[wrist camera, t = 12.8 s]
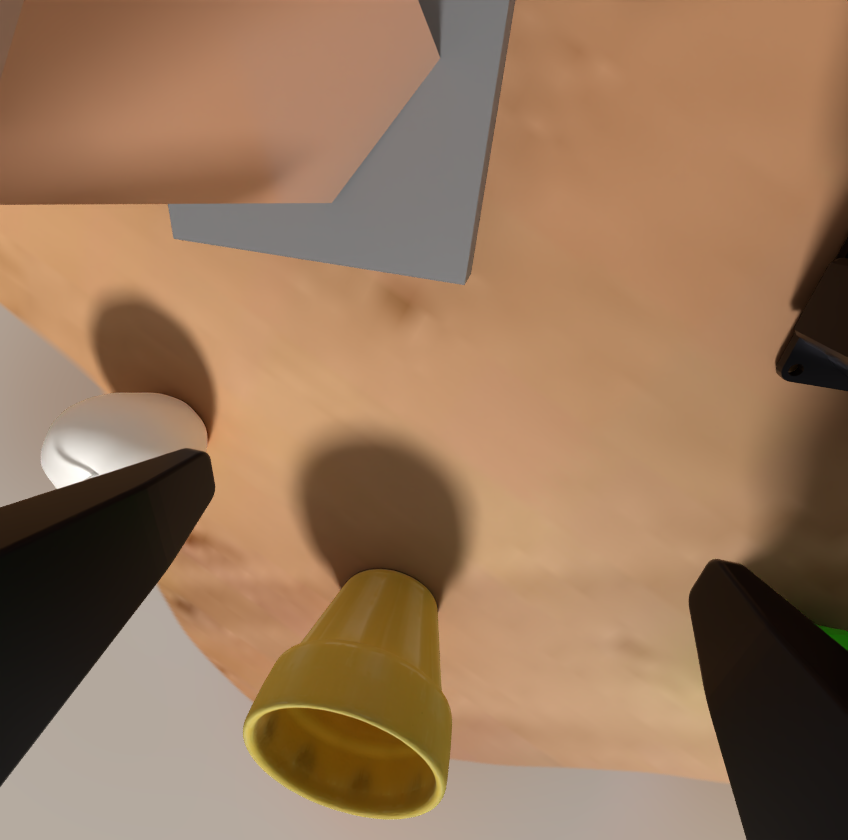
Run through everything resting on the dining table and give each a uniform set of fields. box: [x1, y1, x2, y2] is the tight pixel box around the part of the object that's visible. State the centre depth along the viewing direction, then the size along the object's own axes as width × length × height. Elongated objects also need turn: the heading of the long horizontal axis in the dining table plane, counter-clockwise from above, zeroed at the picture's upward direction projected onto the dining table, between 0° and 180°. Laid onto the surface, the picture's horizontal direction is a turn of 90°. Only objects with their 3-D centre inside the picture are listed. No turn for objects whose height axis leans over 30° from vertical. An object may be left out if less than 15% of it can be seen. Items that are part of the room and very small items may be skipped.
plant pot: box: [243, 569, 452, 819], centre depth 25 cm, size 10×10×10 cm
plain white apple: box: [41, 393, 208, 489], centre depth 22 cm, size 7×7×8 cm
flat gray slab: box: [168, 0, 515, 285], centre depth 15 cm, size 12×12×3 cm
